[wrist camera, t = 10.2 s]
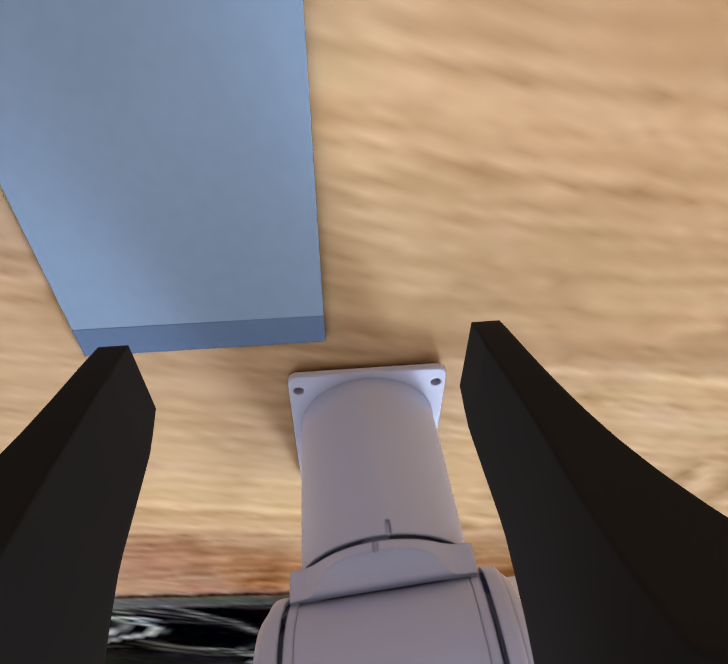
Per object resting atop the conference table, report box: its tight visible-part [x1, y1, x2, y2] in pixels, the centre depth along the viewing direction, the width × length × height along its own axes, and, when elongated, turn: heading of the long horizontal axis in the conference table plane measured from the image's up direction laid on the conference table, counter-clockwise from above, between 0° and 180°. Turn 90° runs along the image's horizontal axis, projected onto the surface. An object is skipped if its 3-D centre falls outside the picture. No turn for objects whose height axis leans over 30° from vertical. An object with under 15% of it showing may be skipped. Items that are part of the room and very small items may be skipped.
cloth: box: [0, 0, 325, 356], centre depth 18 cm, size 20×11×1 cm, turn 0°
